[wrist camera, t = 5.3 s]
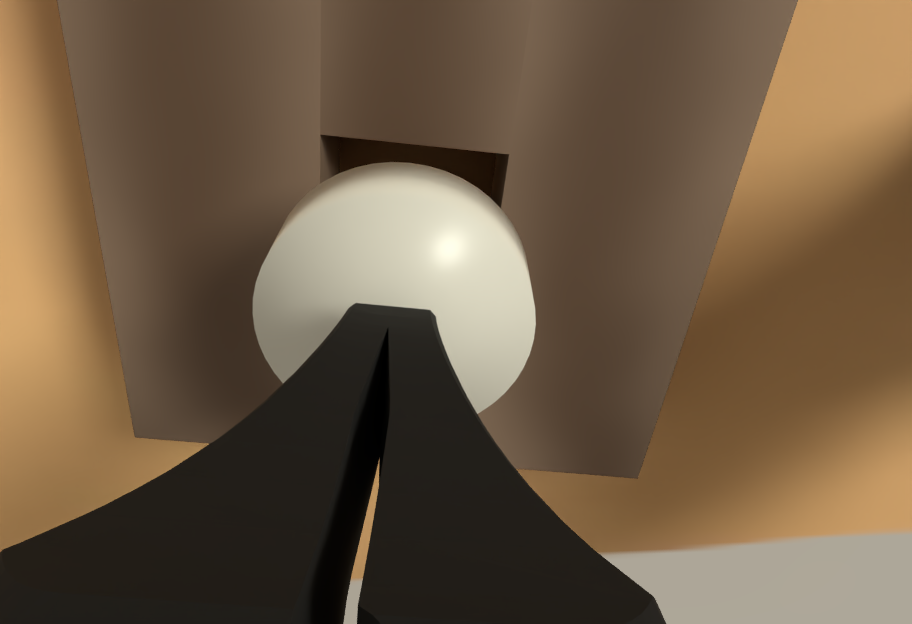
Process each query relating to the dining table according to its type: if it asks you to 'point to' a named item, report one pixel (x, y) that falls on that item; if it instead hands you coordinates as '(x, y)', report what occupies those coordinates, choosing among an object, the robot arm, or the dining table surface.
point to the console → (430, 124)
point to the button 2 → (400, 271)
